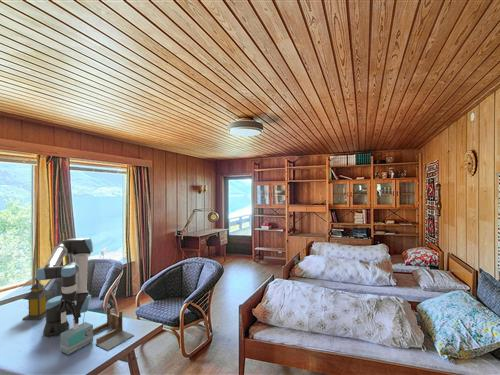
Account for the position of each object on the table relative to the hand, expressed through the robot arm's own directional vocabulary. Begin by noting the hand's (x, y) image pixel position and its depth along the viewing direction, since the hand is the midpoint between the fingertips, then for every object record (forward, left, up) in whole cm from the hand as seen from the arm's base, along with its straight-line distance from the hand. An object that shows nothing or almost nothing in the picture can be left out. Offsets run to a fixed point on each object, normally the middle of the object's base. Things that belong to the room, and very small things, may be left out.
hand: (69, 325), depth 172 cm
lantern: (-69, +13, -16) cm, 72 cm away
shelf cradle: (0, +22, -16) cm, 27 cm away
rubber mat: (+14, +21, -16) cm, 30 cm away
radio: (+1, +4, -16) cm, 17 cm away
